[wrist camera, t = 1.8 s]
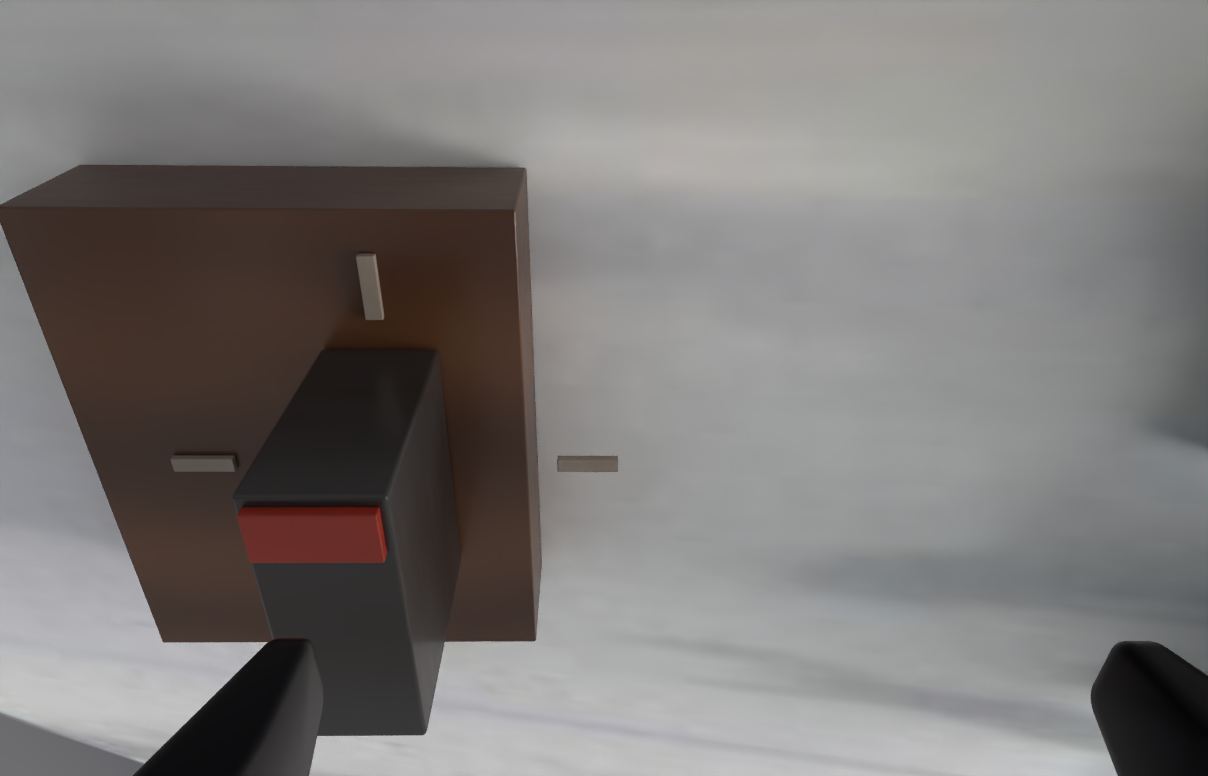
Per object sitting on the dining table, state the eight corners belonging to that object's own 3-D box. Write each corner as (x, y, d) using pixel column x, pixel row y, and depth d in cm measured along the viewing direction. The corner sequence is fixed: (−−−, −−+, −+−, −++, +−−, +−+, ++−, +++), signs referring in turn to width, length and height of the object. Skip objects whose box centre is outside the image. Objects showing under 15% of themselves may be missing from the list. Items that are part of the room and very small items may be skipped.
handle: (461, 560, 20) (424, 748, 16) (361, 560, 20) (295, 749, 16) (439, 347, 17) (384, 506, 13) (320, 347, 17) (222, 505, 12)
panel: (611, 564, 24) (614, 646, 22) (208, 564, 24) (159, 647, 21) (619, 167, 18) (624, 213, 15) (78, 164, 18) (-13, 209, 15)
